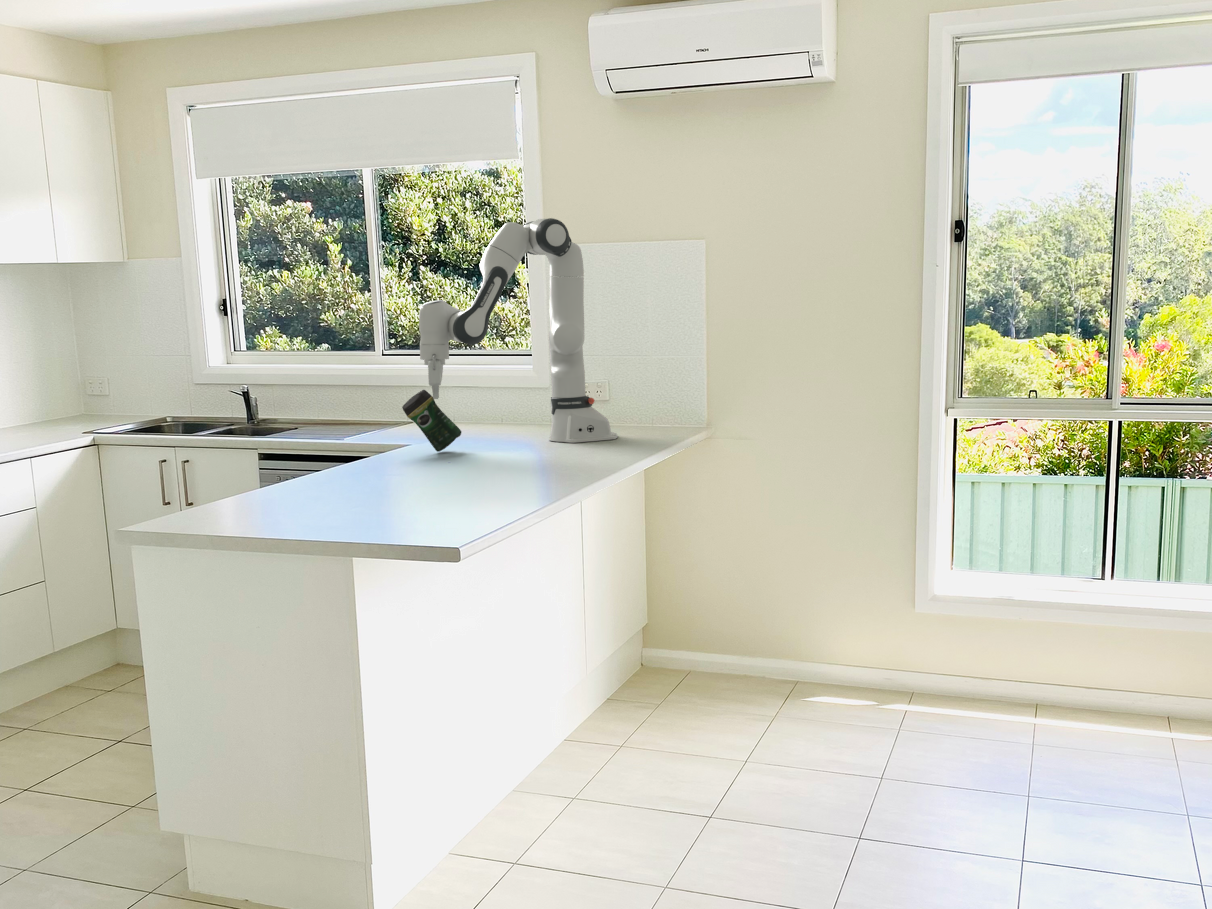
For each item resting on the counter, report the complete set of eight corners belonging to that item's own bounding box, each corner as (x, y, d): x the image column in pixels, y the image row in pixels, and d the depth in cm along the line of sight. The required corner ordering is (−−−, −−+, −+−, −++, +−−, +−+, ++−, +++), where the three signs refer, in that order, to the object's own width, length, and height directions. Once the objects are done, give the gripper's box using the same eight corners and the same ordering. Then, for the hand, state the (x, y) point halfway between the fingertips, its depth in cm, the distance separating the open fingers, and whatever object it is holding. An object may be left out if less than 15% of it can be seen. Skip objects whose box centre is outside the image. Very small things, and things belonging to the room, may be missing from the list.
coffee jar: (465, 430, 343) (427, 384, 340) (457, 439, 336) (418, 391, 332) (443, 447, 346) (405, 401, 343) (435, 456, 339) (396, 409, 336)
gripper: (444, 355, 326) (445, 401, 328) (445, 352, 346) (446, 395, 348) (423, 355, 326) (424, 401, 328) (425, 352, 346) (426, 396, 348)
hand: (435, 398), depth 338 cm, fingers closed
